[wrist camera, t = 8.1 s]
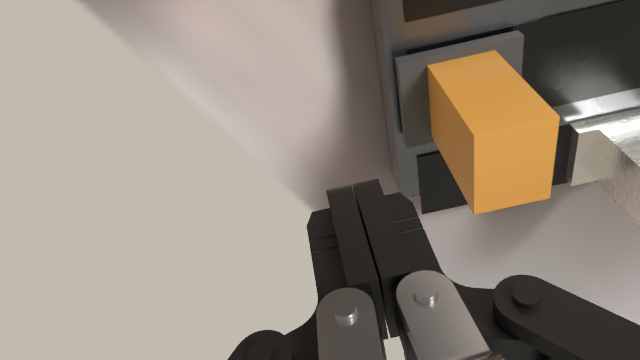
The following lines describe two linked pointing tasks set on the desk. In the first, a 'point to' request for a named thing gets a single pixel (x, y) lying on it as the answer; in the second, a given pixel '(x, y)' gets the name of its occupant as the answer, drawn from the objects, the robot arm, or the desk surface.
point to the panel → (541, 74)
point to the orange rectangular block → (481, 119)
